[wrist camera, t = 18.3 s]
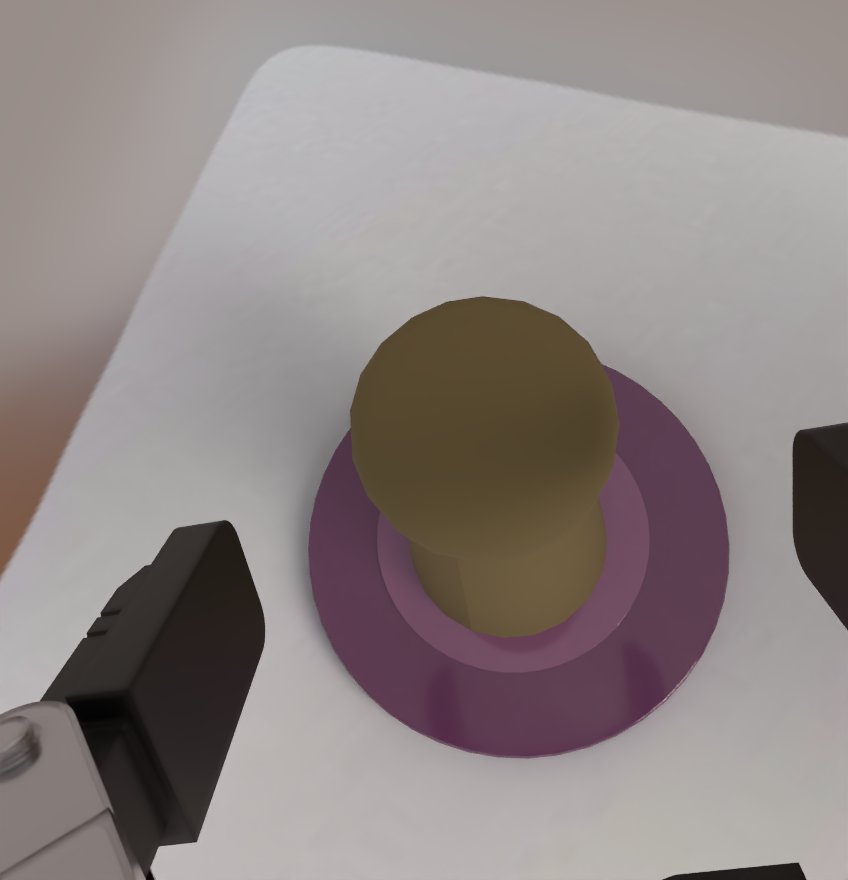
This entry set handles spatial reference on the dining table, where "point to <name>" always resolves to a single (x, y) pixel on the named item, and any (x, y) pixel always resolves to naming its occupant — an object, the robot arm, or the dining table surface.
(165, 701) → the robot arm
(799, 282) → the dining table surface
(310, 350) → the dining table surface
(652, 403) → the saucer
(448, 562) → the cork
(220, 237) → the dining table surface
